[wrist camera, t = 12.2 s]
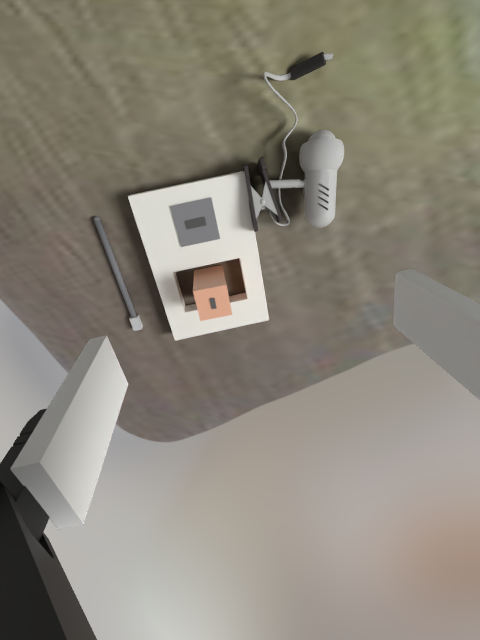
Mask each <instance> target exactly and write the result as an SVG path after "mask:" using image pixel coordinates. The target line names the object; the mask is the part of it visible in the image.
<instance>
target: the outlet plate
mask: <svg viewBox="0 0 480 640" xmlns="http://www.w3.org/2000/svg"><path fill="white" fill-rule="evenodd" d="M128 199H129V202H130V205H131V208H132V211H133V214H134V217H135V220H136V223H137V226H138V229H139V232H140V235H141V238H142V242H143V245H144V248H145V251H146V254H147V257H148V260H149V263H150V266H151V269H152V272H153V275H154V278H155V281H156V284H157V287H158V290H159V293H160V296H161V299H162V302H163V305H164V308H165V312H166V315H167V318H168V321H169V324H170V327H171V330H172V333H173V336H174V339H175V340H180V339H184V338H189V337H194V336H198V335H203V334H207V333H212V332H216V331H221V330H226V329H230V328H235V327H239V326H244V325H248V324H253V323H258V322H262V321H267V320H269V316H268V310H267V304H266V298H265V292H264V285H263V279H262V273H261V267H260V261H259V254H258V248H257V242H256V236H255V232H254V229H253V224H252V219H251V213H250V207H249V197H248V190H247V184H246V178H245V173H244V171H240V172H235V173H230V174H225V175H221V176H216V177H211V178H207V179H202V180H197V181H192V182H188V183H183V184H178V185H173V186H169V187H164V188H159V189H154V190H150V191H145V192H140V193H135V194H131V195H129V196H128ZM237 258H239V261H240V267H241V272H242V277H243V282H244V287H245V293H241V294H237V295H232V296H229V300H230V305H231V310H232V315H229V316H224V317H219V318H213V319H208V320H203V321H200V317H199V313H198V309H197V305H196V303H195V304H191V305H186V306H185V303H184V299H183V296H182V292H181V289H180V286H179V282H178V279H177V275H176V272H177V271H181V270H186V269H190V268H195V267H200V266H204V265H209V264H214V263H218V262H223V261H228V260H232V259H237Z"/></svg>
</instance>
